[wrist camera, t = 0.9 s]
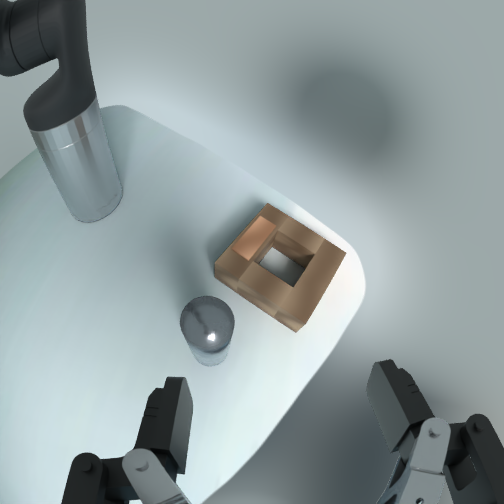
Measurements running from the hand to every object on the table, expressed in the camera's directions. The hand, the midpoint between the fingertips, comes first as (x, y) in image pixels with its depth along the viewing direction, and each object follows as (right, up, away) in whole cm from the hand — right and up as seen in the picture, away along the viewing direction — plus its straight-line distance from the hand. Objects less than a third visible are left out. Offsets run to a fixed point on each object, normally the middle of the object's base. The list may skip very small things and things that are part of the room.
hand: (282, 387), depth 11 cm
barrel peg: (-6, -5, +20) cm, 21 cm away
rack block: (+2, +3, +26) cm, 26 cm away
